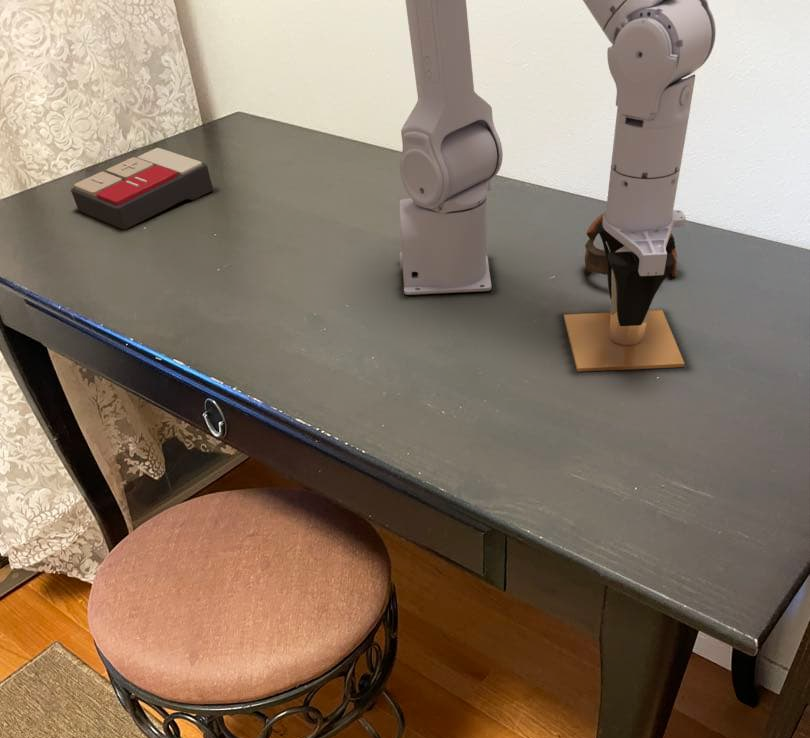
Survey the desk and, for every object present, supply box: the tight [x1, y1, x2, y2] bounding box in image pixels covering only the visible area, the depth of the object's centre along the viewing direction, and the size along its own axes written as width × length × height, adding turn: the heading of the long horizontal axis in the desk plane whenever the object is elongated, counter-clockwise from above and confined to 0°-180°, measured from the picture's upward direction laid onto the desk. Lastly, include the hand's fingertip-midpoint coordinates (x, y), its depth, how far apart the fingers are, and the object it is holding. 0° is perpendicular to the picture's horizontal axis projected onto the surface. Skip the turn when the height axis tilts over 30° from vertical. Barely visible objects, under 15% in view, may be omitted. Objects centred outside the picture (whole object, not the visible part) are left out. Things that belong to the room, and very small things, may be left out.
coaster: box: [563, 309, 685, 372], centre depth 83 cm, size 10×10×1 cm
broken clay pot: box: [584, 211, 678, 278], centre depth 92 cm, size 12×10×8 cm
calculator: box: [70, 147, 214, 231], centre depth 114 cm, size 11×4×15 cm
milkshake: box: [606, 242, 653, 346], centre depth 79 cm, size 4×5×10 cm
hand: (625, 311), depth 81 cm, fingers closed on milkshake, 4 cm apart
